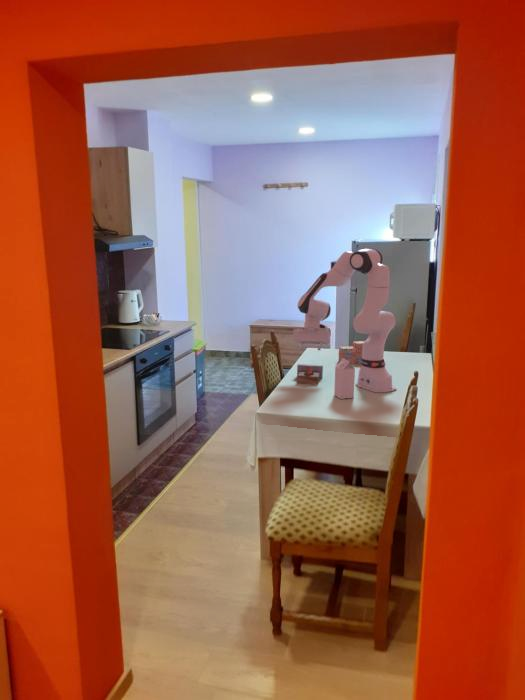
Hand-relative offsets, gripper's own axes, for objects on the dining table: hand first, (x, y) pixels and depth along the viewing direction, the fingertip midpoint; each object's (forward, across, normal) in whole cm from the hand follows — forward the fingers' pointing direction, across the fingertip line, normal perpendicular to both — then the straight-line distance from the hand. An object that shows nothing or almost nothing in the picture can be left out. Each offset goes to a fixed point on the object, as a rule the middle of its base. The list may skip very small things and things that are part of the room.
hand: (310, 349), depth 313 cm
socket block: (+16, 0, +8) cm, 18 cm away
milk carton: (+34, +19, -10) cm, 40 cm away
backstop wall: (+10, 0, +13) cm, 17 cm away
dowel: (+15, 0, +8) cm, 17 cm away
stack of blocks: (-20, +26, +44) cm, 54 cm away
